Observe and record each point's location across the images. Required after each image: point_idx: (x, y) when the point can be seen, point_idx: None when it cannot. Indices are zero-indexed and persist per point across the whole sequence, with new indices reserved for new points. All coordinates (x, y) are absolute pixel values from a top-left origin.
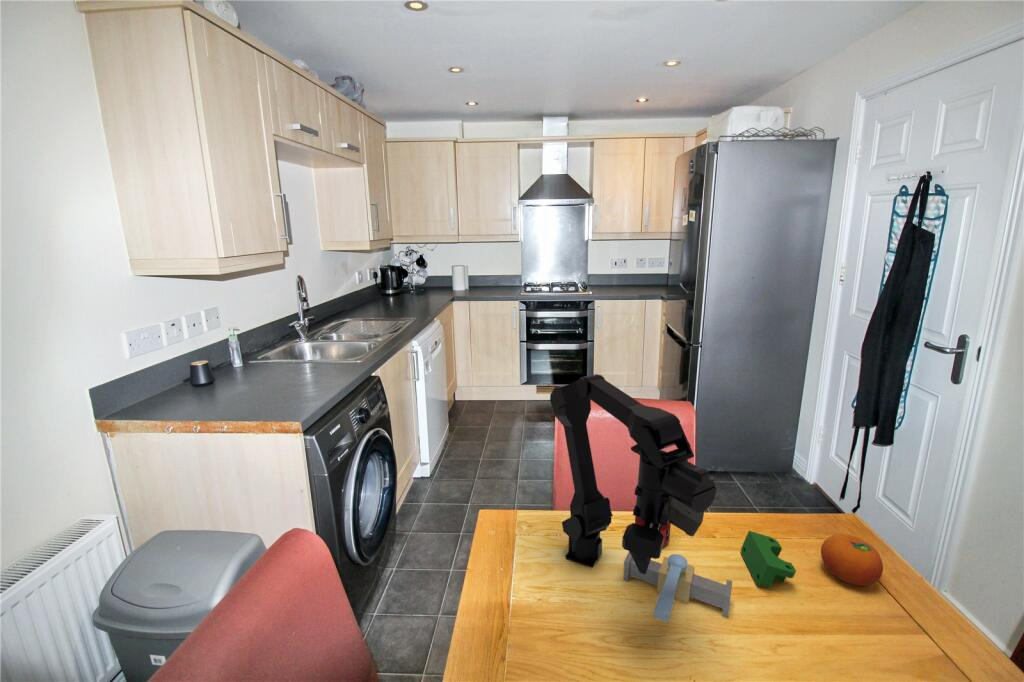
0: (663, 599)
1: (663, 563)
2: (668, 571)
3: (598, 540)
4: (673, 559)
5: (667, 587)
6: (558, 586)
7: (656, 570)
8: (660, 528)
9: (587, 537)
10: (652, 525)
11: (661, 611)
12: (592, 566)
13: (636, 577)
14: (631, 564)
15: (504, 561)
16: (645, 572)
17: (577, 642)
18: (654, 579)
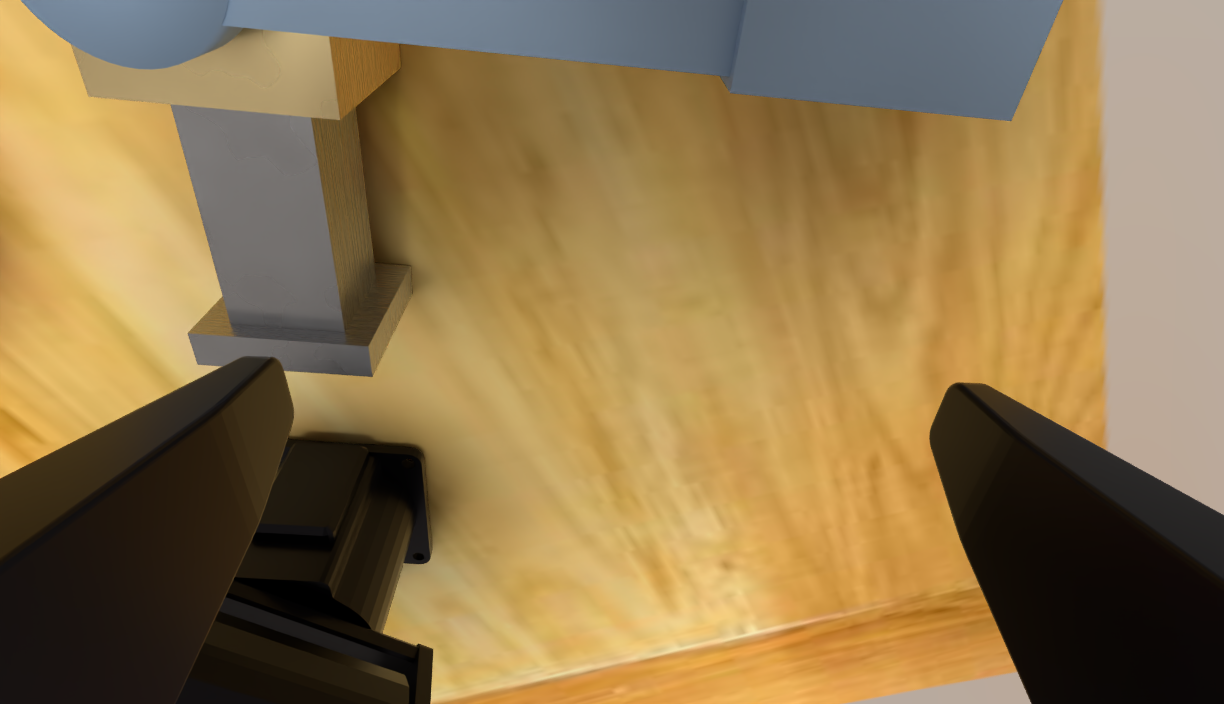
0: (856, 46)
1: (190, 92)
2: (372, 40)
3: (283, 539)
4: (128, 3)
5: (634, 21)
6: (622, 531)
7: (294, 134)
8: (51, 524)
9: (341, 615)
10: (109, 653)
11: (1034, 46)
12: (416, 454)
13: (370, 235)
14: (345, 317)
15: (577, 694)
16: (1015, 407)
17: (931, 397)
18: (341, 120)
